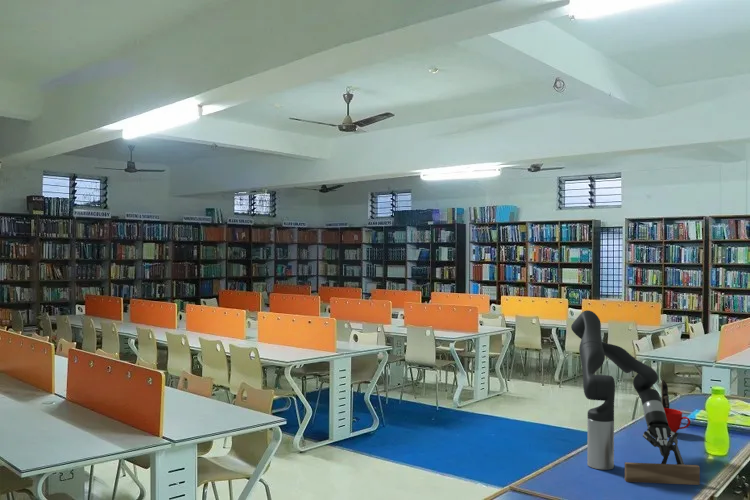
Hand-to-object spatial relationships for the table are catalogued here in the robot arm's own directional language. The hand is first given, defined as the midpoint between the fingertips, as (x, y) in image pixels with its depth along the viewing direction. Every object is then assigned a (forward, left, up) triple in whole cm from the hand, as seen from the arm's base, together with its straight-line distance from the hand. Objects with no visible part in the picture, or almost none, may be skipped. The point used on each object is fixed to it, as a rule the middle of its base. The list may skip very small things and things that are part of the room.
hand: (666, 456), depth 237 cm
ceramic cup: (-48, +18, -4) cm, 51 cm away
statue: (-73, +26, -4) cm, 77 cm away
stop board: (+18, -8, -4) cm, 20 cm away
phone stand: (+6, 0, -4) cm, 7 cm away
